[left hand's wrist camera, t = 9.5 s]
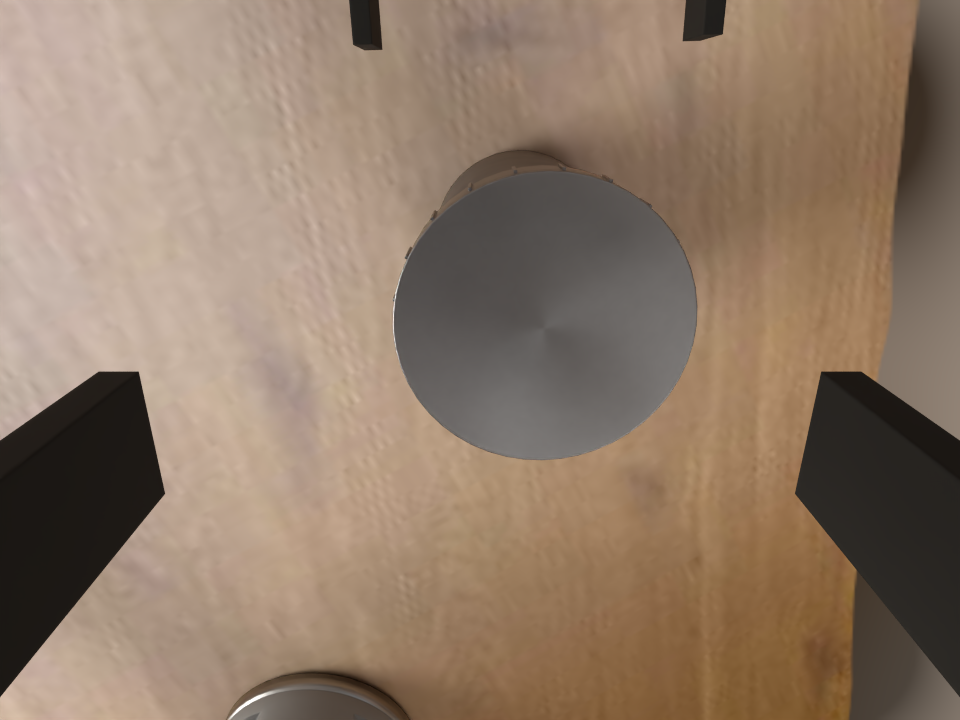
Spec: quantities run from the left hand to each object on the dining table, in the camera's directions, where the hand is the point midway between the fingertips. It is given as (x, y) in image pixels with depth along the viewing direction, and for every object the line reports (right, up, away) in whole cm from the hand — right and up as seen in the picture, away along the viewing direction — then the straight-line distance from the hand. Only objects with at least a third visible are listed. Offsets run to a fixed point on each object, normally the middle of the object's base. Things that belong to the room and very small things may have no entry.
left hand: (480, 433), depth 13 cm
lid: (+2, +3, +9) cm, 9 cm away
